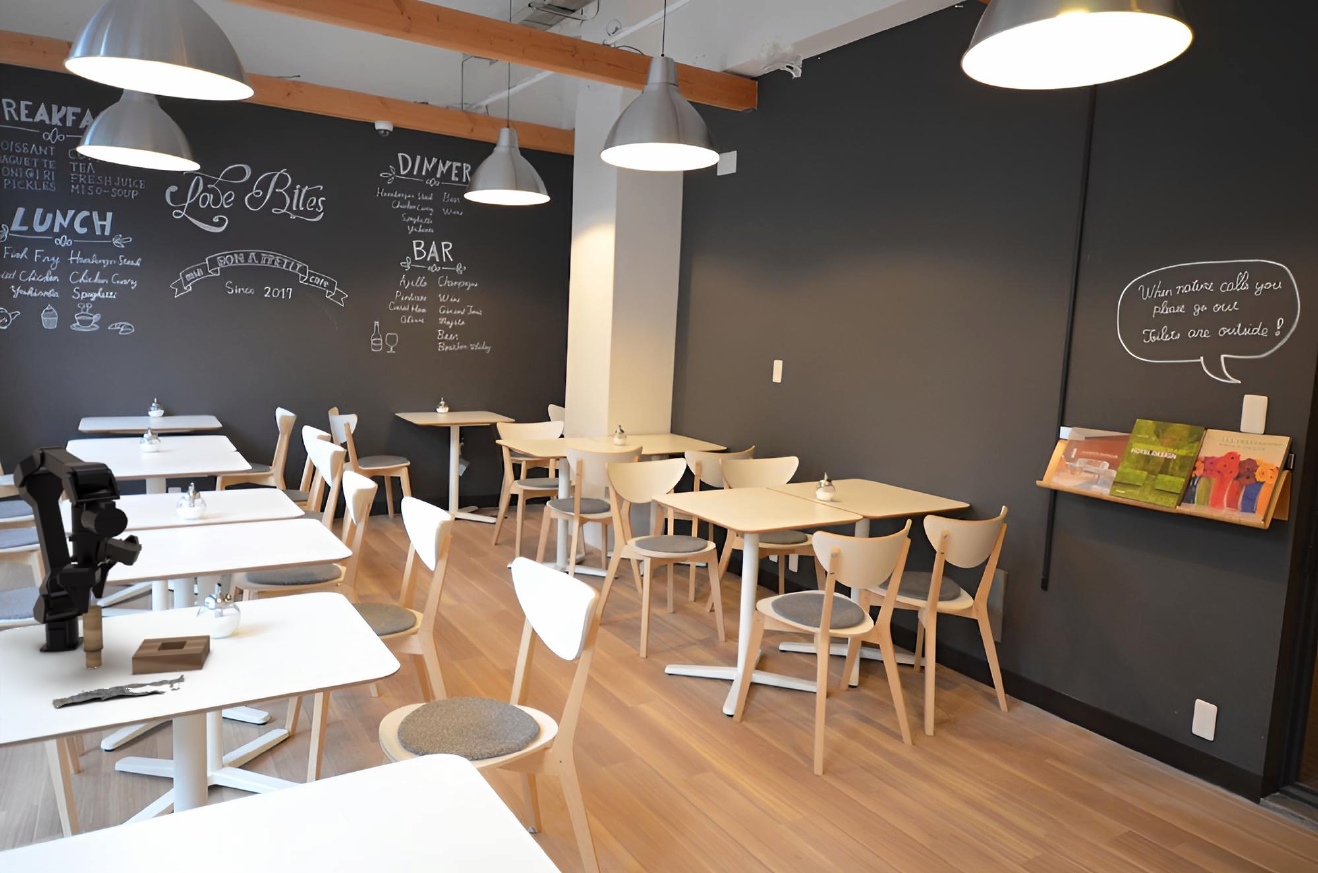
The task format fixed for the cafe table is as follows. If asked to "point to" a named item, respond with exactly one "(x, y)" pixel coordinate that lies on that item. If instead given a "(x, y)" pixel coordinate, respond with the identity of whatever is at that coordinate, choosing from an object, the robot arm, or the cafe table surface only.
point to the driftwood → (115, 691)
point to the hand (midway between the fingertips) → (92, 605)
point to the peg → (93, 636)
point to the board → (171, 654)
